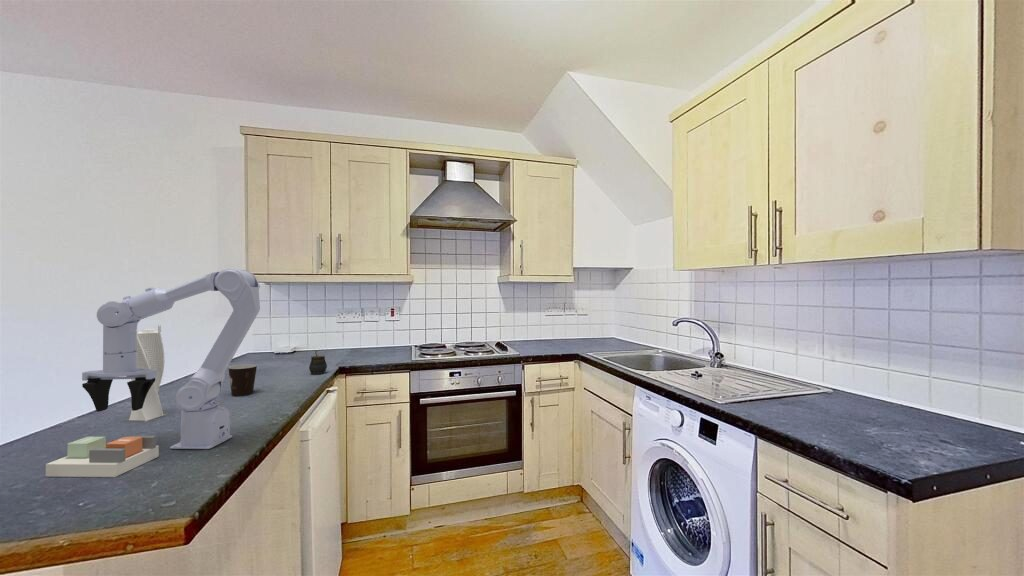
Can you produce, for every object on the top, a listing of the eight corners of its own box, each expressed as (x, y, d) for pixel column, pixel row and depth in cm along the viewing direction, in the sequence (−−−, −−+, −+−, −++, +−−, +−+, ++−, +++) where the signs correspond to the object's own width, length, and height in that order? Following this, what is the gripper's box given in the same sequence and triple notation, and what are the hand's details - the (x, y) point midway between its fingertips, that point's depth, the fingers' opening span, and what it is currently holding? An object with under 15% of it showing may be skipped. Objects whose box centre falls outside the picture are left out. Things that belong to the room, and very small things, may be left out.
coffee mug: (232, 392, 148) (232, 365, 148) (259, 390, 151) (259, 363, 151) (221, 400, 137) (222, 371, 137) (251, 398, 140) (251, 369, 140)
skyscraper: (173, 415, 121) (175, 322, 122) (146, 424, 113) (148, 325, 114) (148, 414, 122) (149, 322, 122) (120, 422, 114) (121, 324, 114)
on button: (105, 451, 88) (106, 436, 88) (86, 459, 84) (86, 443, 84) (87, 451, 88) (87, 436, 88) (67, 459, 84) (67, 443, 84)
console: (159, 456, 91) (159, 434, 91) (116, 477, 81) (116, 452, 81) (96, 456, 91) (97, 433, 91) (45, 476, 81) (46, 451, 81)
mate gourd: (313, 376, 177) (313, 353, 177) (305, 374, 181) (305, 351, 181) (329, 373, 182) (329, 351, 182) (321, 371, 187) (321, 350, 187)
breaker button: (142, 452, 88) (142, 436, 88) (124, 459, 84) (124, 443, 84) (124, 452, 88) (124, 436, 88) (105, 459, 84) (105, 443, 84)
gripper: (166, 349, 99) (165, 404, 99) (101, 350, 98) (101, 405, 98) (143, 353, 92) (142, 412, 92) (73, 354, 91) (72, 414, 91)
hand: (119, 409), depth 95 cm, fingers open, 7 cm apart
